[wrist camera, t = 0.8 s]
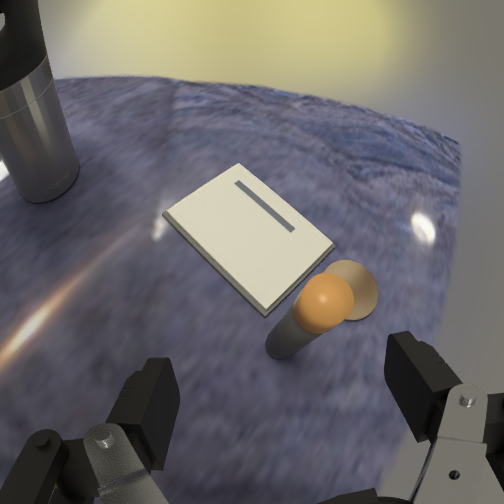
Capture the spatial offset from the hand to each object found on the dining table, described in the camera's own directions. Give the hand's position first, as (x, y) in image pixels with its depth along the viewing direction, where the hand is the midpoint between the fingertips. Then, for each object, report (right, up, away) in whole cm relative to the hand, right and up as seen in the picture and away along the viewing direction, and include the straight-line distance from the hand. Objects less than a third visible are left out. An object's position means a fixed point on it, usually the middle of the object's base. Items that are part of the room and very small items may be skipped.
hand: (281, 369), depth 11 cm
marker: (+2, -5, +20) cm, 20 cm away
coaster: (+10, 0, +24) cm, 26 cm away
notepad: (-1, +6, +25) cm, 26 cm away
